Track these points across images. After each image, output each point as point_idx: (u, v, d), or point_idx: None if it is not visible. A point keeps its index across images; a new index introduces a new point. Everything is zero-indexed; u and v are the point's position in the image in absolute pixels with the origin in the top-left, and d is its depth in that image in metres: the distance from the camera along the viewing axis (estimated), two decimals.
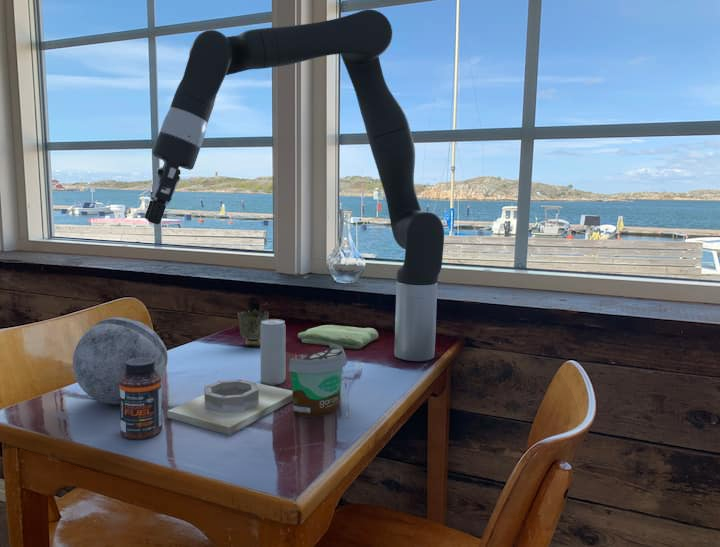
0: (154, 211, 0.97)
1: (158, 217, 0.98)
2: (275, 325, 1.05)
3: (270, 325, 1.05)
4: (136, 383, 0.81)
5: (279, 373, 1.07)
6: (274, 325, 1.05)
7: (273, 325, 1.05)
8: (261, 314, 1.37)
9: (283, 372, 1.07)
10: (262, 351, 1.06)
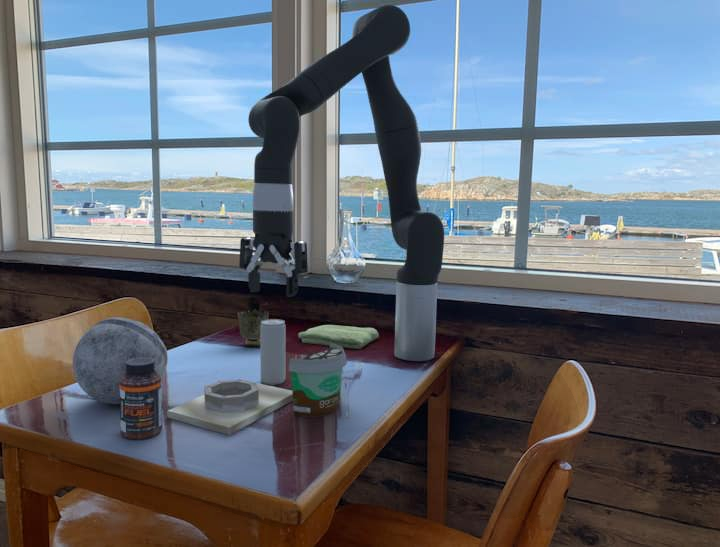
0: (294, 286, 1.03)
1: (297, 289, 1.04)
2: (275, 325, 1.05)
3: (270, 325, 1.05)
4: (136, 383, 0.81)
5: (279, 373, 1.07)
6: (274, 325, 1.05)
7: (273, 325, 1.05)
8: (261, 314, 1.37)
9: (283, 372, 1.07)
10: (262, 351, 1.06)
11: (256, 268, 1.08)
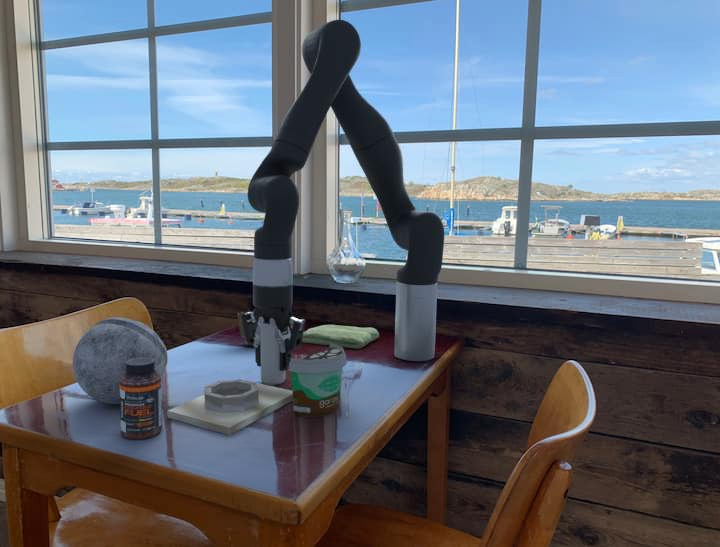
0: (287, 361, 1.06)
1: None
2: None
3: (270, 325, 1.05)
4: (136, 383, 0.81)
5: (279, 373, 1.07)
6: None
7: None
8: None
9: (283, 372, 1.07)
10: (262, 351, 1.06)
11: None
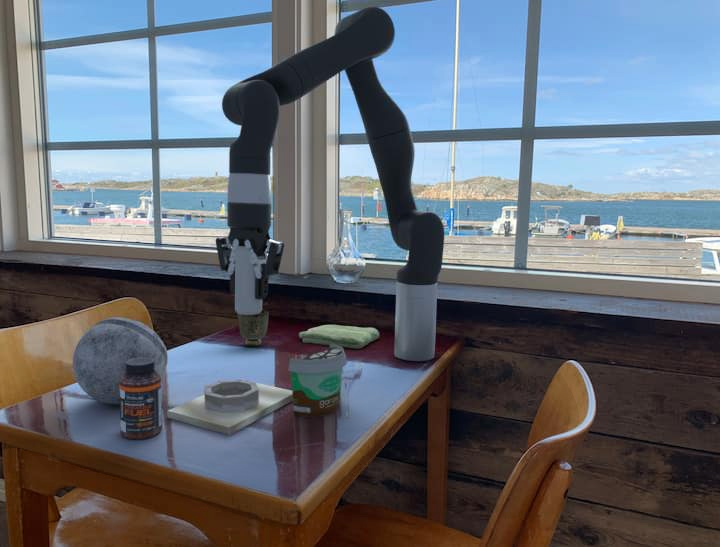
0: (263, 288, 0.97)
1: (267, 292, 0.98)
2: None
3: (245, 248, 0.96)
4: (136, 383, 0.81)
5: (254, 302, 0.97)
6: None
7: None
8: (261, 314, 1.37)
9: (259, 301, 0.98)
10: (236, 277, 0.97)
11: None
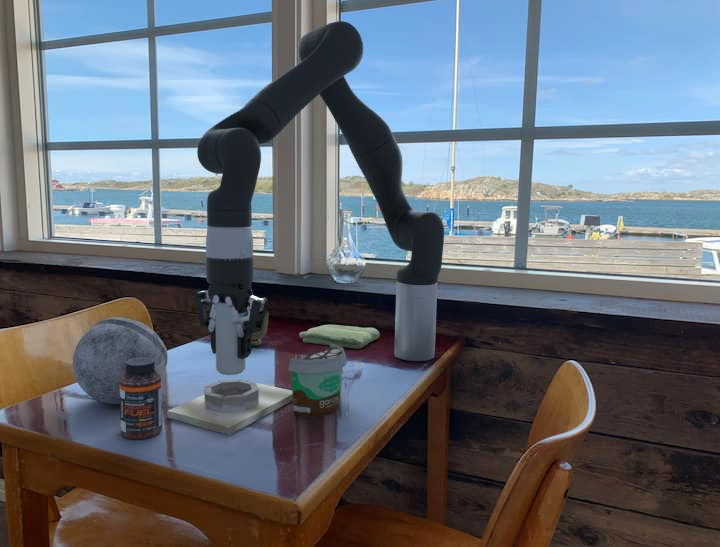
0: (246, 347, 0.91)
1: (250, 350, 0.92)
2: None
3: (226, 305, 0.90)
4: (136, 383, 0.81)
5: (236, 361, 0.91)
6: None
7: None
8: None
9: (242, 360, 0.92)
10: (217, 335, 0.91)
11: None
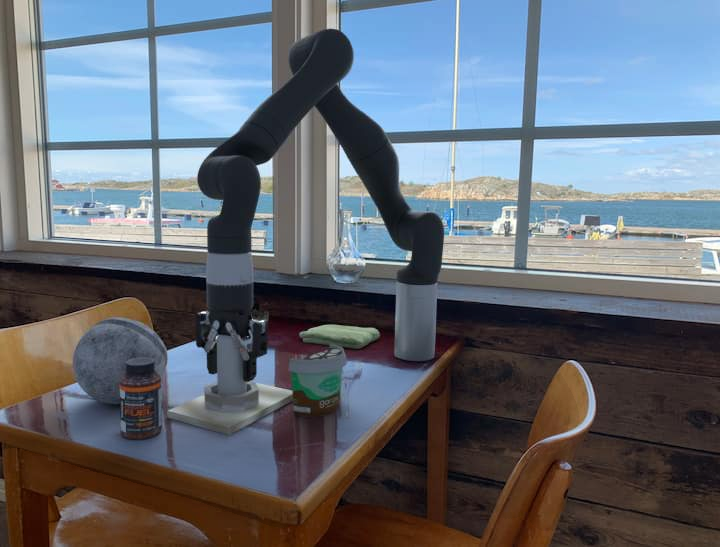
0: (252, 370, 0.91)
1: (255, 373, 0.92)
2: None
3: (227, 337, 0.91)
4: (136, 383, 0.81)
5: (238, 393, 0.92)
6: None
7: (231, 337, 0.91)
8: (261, 314, 1.37)
9: (243, 391, 0.93)
10: (219, 367, 0.92)
11: (215, 346, 0.95)
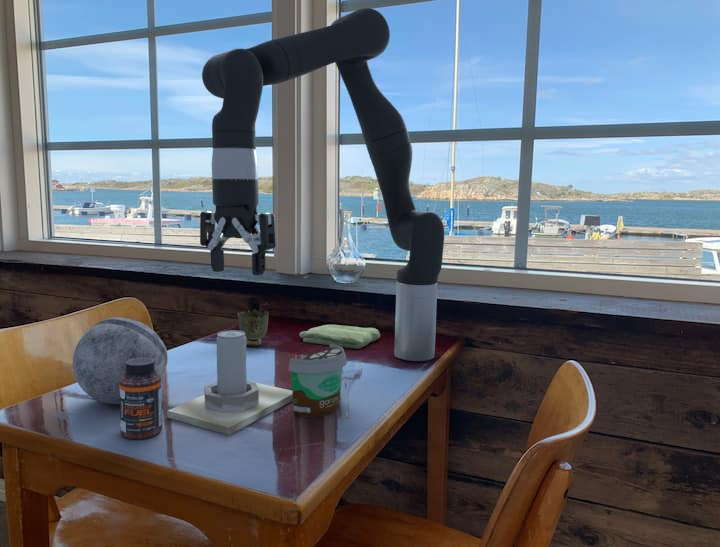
0: (261, 263, 0.92)
1: (264, 267, 0.93)
2: (233, 338, 0.91)
3: (227, 338, 0.90)
4: (136, 383, 0.81)
5: (238, 393, 0.92)
6: (232, 338, 0.91)
7: (230, 338, 0.91)
8: (261, 314, 1.37)
9: (243, 392, 0.93)
10: (218, 368, 0.92)
11: (219, 245, 0.97)
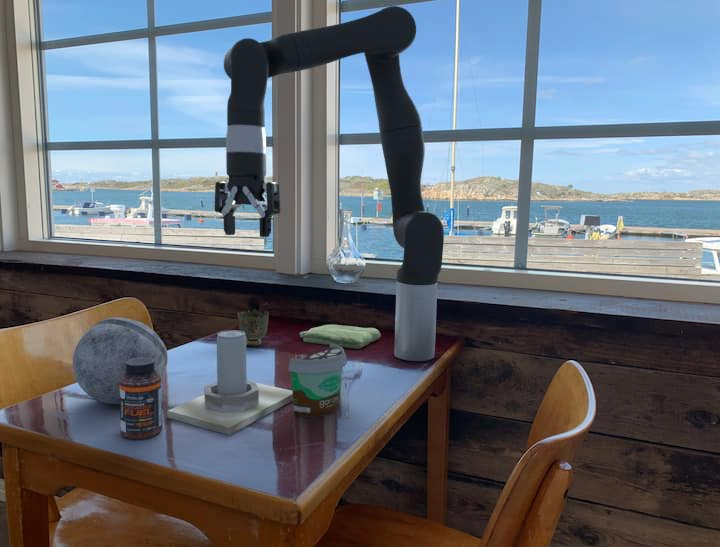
0: (267, 226, 1.06)
1: (270, 230, 1.07)
2: (233, 338, 0.91)
3: (227, 338, 0.91)
4: (136, 383, 0.81)
5: (238, 393, 0.92)
6: (232, 338, 0.91)
7: (231, 338, 0.91)
8: (261, 314, 1.37)
9: (243, 392, 0.93)
10: (218, 368, 0.92)
11: (231, 212, 1.10)
